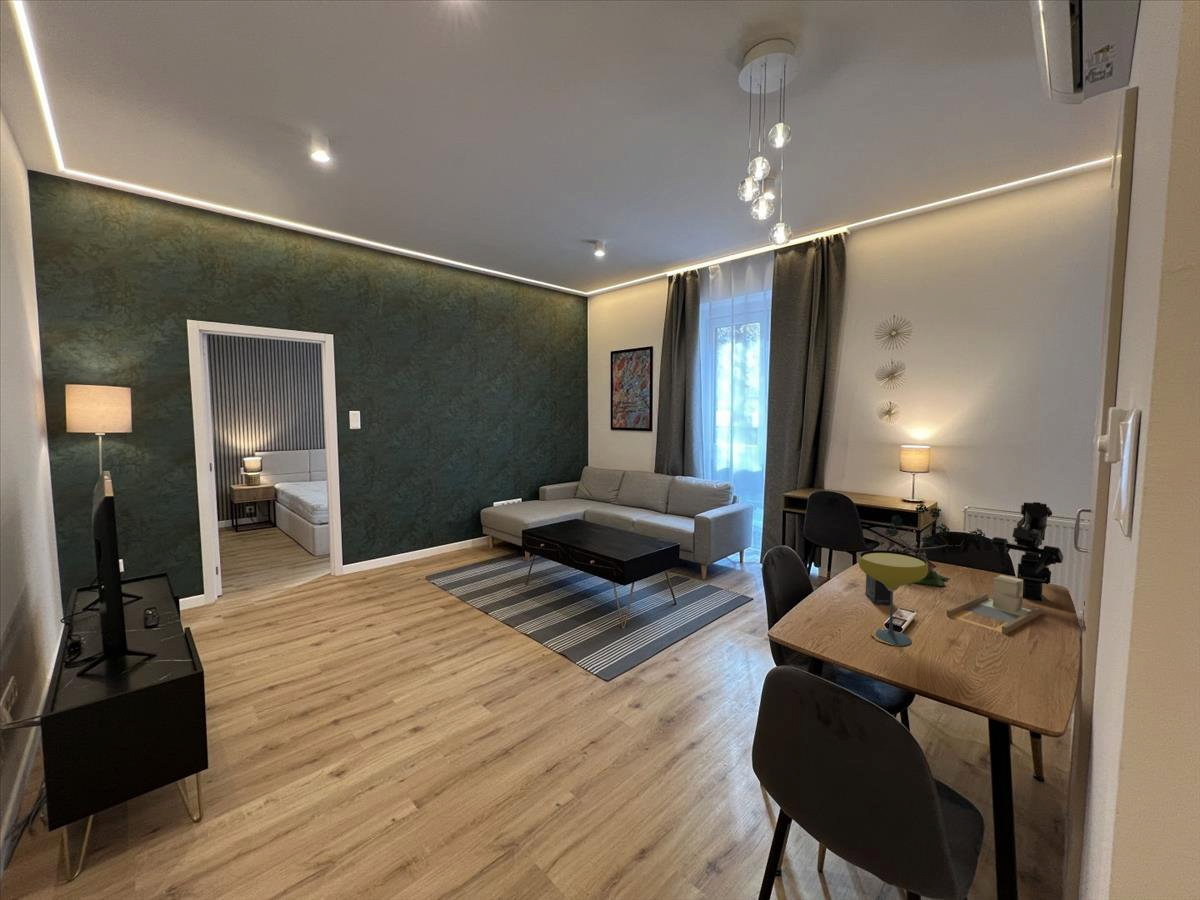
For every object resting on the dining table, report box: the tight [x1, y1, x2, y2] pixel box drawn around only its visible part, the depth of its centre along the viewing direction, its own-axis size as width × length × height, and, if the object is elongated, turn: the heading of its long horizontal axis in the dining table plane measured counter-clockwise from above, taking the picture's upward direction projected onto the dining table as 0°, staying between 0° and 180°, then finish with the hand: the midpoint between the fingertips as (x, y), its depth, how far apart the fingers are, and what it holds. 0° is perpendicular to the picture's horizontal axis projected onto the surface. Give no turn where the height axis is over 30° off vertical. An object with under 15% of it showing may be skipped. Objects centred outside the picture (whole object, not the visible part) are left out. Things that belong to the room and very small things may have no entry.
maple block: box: [992, 574, 1023, 613], centre depth 166 cm, size 6×6×10 cm
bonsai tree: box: [881, 503, 987, 588], centre depth 194 cm, size 35×24×32 cm
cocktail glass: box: [858, 549, 928, 647], centre depth 149 cm, size 18×18×25 cm
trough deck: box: [946, 592, 1043, 635], centre depth 161 cm, size 27×16×4 cm, turn 121°
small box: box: [864, 573, 891, 606], centre depth 180 cm, size 11×6×10 cm, turn 168°
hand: (1017, 569), depth 169 cm, fingers open, 9 cm apart
